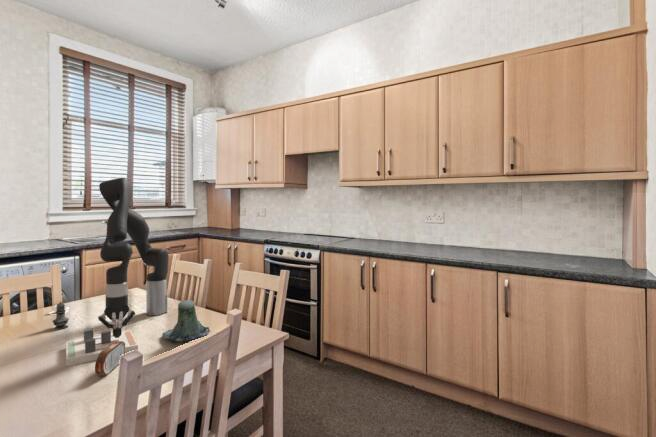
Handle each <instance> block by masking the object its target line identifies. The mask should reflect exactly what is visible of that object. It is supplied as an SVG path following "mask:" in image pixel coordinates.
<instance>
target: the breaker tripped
mask: <svg viewBox="0 0 656 437" xmlns="http://www.w3.org/2000/svg"><path fill="white" fill-rule="evenodd" d="M111 334H112V333H111V330H103V331H101V332H100V336H101V344H104V343H109V342H111Z"/></svg>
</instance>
